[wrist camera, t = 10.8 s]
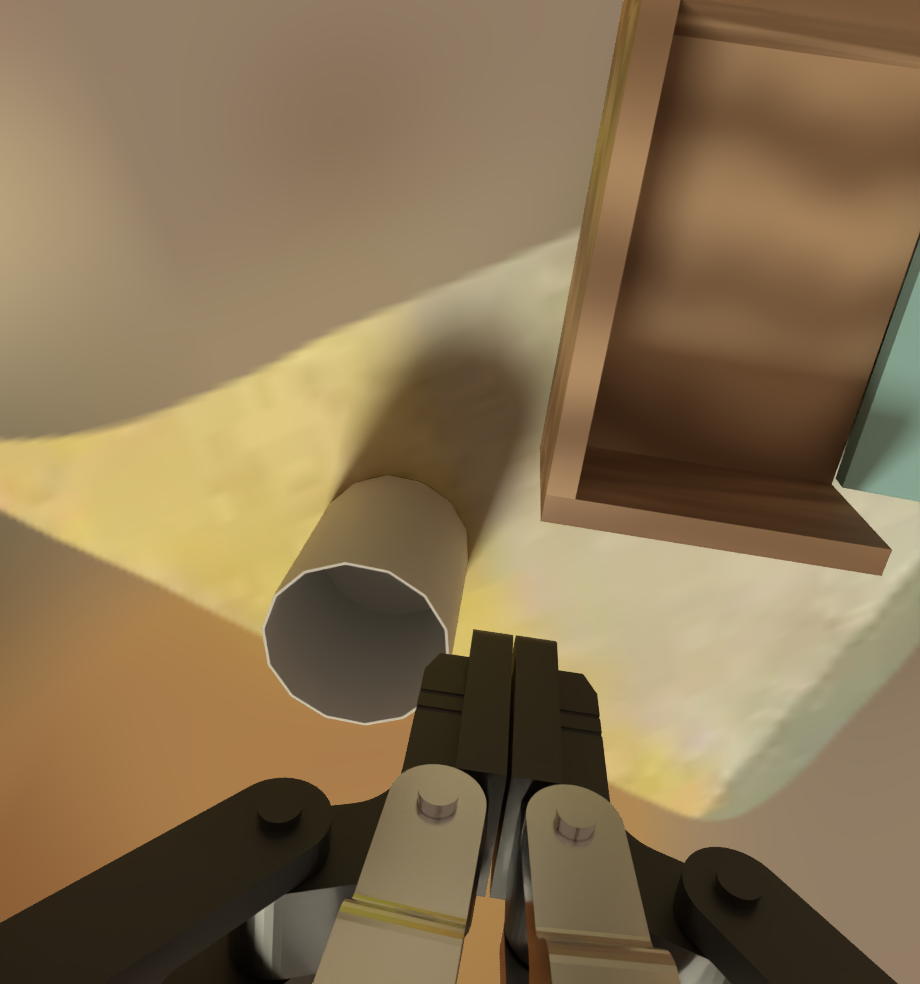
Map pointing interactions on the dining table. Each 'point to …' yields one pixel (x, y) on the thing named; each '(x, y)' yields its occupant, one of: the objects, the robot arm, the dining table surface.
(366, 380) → the dining table surface
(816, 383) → the box
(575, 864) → the robot arm
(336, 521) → the cup
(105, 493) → the dining table surface
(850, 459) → the panel
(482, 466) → the dining table surface
